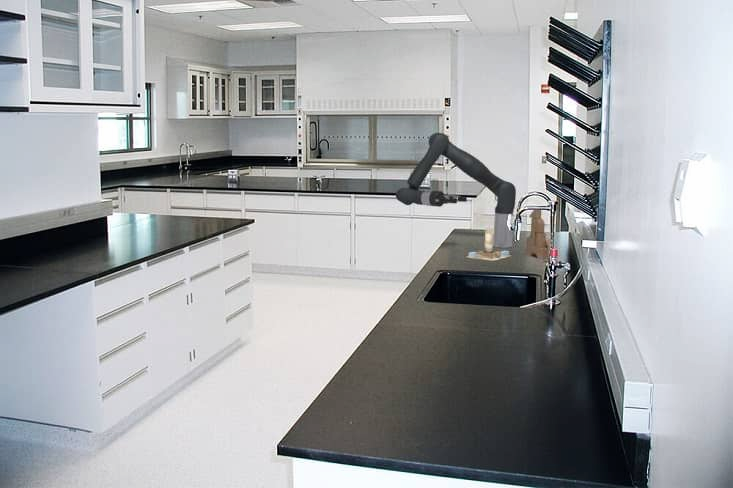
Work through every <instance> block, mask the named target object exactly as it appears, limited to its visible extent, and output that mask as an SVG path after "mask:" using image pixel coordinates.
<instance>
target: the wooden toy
mask: <svg viewBox="0 0 733 488" xmlns="http://www.w3.org/2000/svg"><path fill="white" fill-rule="evenodd" d="M529 218H530V220H531V221H530V222H531V223H530V235H529V236H528V237H526V239H525V240H526V242H525V243H526V244H525V255H526V256H528V257H537V259H538V260H542V261H543V260H544V261H543V263H548V262H547V261H548V260H549V259H548V254H549V249H550V240H551V239H547V238H546V237H547V233H545V227H546V226H545V224H546V223H545V221H544V219H543V218H542V209H541V210H534V209H533V210H532V212H531V213H530V215H529Z"/></svg>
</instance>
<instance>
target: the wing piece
mask: <svg viewBox="0 0 733 488" xmlns="http://www.w3.org/2000/svg"><path fill="white" fill-rule="evenodd" d="M500 252H501V257H506V256H509V255H510V251H509V250H502V251H500ZM506 258H507V257H506Z"/></svg>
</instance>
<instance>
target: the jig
mask: <svg viewBox="0 0 733 488" xmlns="http://www.w3.org/2000/svg"><path fill="white" fill-rule="evenodd" d="M476 252H477V257H475V258H474V259H477V260H483V261H489V262H494V261H498V260H501V259H505V258H509V257H511V255H510V254H509V256H506V257H501V251H497V250H496V251H495V250H493V253H484V250H480V251H476ZM466 258H470V259H472V258H471V257H469V255H468V256H466Z"/></svg>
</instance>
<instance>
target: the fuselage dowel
mask: <svg viewBox="0 0 733 488" xmlns="http://www.w3.org/2000/svg"><path fill="white" fill-rule="evenodd" d="M493 244H494V228H487V227H486V228H485V229H484V253H493V251H494V246H493Z"/></svg>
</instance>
